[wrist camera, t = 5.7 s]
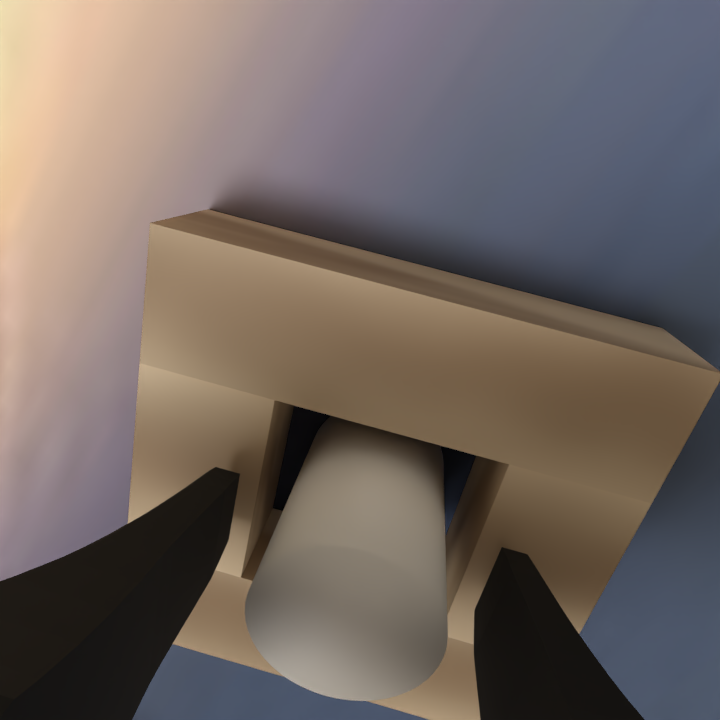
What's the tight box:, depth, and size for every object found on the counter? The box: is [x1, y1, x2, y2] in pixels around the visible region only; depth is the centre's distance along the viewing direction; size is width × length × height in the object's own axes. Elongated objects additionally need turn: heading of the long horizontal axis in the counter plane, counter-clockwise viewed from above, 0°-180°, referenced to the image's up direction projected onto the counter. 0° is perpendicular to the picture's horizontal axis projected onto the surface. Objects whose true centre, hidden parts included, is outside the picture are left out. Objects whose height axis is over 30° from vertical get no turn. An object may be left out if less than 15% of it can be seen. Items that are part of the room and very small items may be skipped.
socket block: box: [128, 209, 720, 720], centre depth 14 cm, size 12×12×3 cm
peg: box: [245, 416, 448, 701], centre depth 13 cm, size 4×4×6 cm
